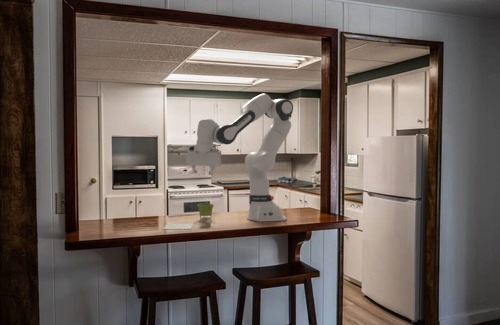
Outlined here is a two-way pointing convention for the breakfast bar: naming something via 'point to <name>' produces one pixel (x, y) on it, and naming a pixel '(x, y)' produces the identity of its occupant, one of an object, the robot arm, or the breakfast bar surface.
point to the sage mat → (178, 226)
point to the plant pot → (205, 209)
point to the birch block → (205, 221)
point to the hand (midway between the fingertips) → (202, 174)
